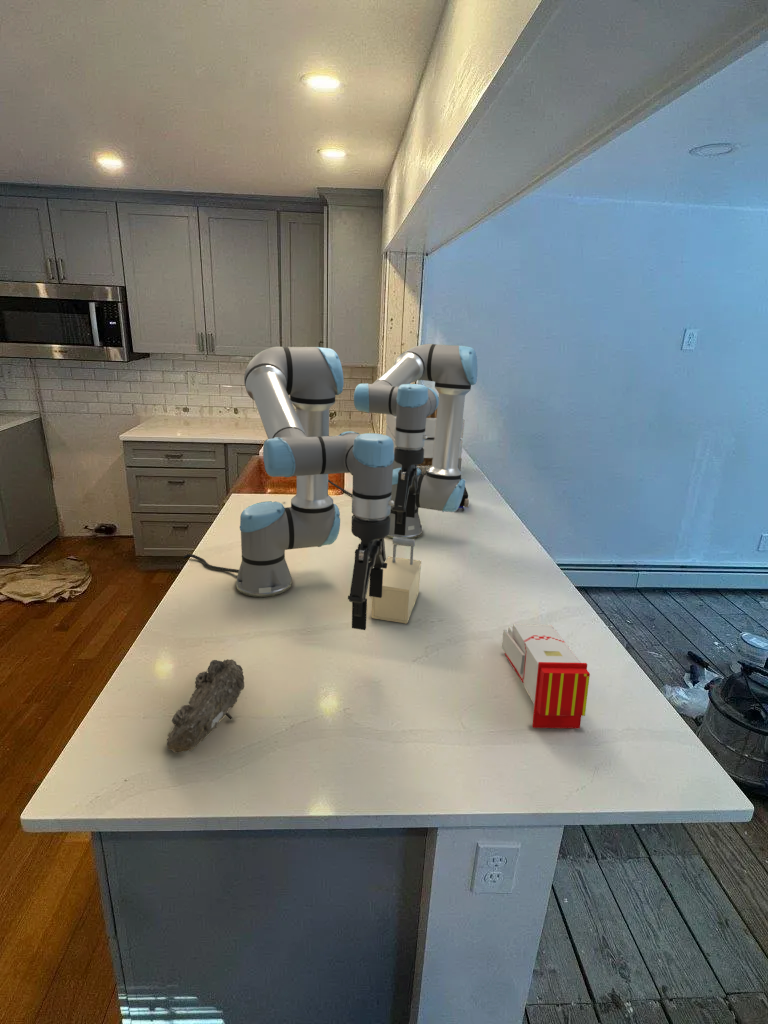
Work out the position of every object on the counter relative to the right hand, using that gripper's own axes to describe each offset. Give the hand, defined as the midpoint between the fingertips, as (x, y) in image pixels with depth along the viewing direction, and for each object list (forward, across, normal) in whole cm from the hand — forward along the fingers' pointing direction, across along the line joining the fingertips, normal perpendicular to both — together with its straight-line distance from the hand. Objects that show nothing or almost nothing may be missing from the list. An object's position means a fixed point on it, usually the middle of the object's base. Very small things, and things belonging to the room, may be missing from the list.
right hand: (404, 525), depth 151 cm
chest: (+21, -6, 0) cm, 22 cm away
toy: (+21, -31, -36) cm, 52 cm away
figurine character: (+21, +80, -8) cm, 83 cm away
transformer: (+21, +124, +16) cm, 127 cm away
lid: (+12, -6, 0) cm, 13 cm away
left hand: (+5, -38, 0) cm, 39 cm away
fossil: (+21, -59, +25) cm, 67 cm away
